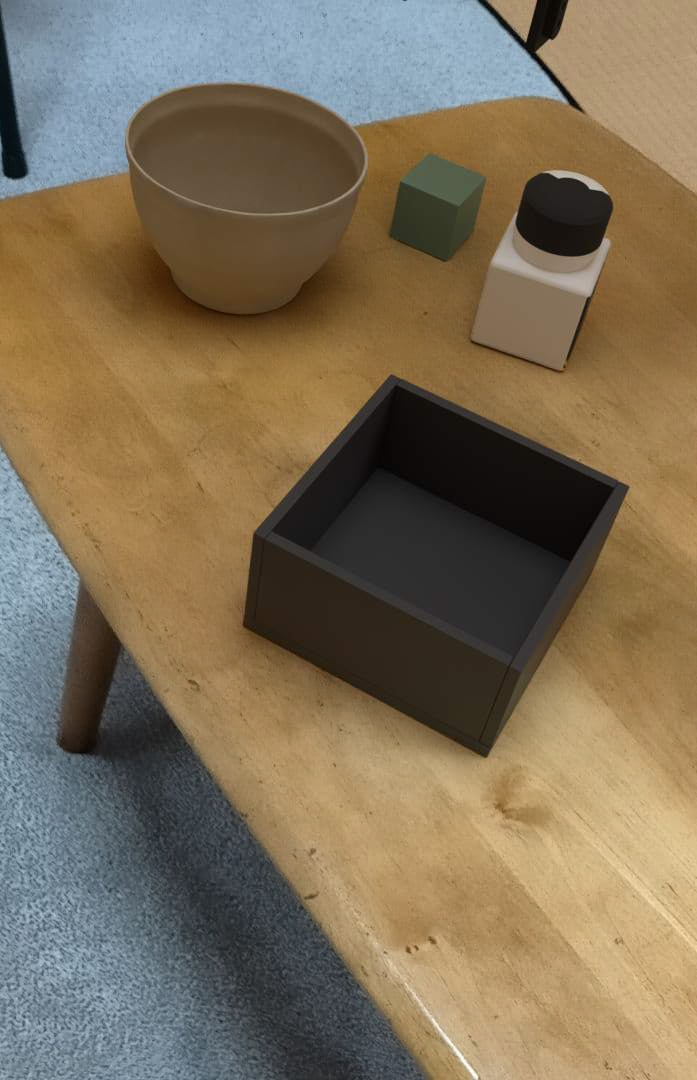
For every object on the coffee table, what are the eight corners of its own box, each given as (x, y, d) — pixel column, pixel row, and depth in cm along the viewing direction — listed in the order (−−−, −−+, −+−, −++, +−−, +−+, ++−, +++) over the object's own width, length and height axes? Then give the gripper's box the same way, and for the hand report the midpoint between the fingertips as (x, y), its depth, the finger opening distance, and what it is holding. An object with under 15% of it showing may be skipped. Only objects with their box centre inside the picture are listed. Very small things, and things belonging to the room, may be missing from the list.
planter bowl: (364, 348, 87) (388, 217, 79) (130, 348, 84) (130, 211, 75) (331, 212, 97) (349, 83, 89) (121, 208, 94) (120, 74, 86)
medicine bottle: (563, 374, 88) (612, 232, 79) (468, 342, 89) (506, 198, 80) (585, 318, 92) (634, 178, 83) (494, 287, 93) (533, 146, 84)
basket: (590, 575, 76) (630, 485, 70) (486, 758, 66) (521, 672, 60) (371, 467, 79) (391, 373, 73) (242, 626, 70) (252, 532, 64)
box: (473, 231, 98) (487, 176, 94) (446, 261, 95) (459, 206, 91) (418, 207, 99) (429, 152, 95) (389, 236, 96) (399, 180, 92)
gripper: (697, -236, 72) (609, 44, 84) (434, -324, 76) (388, -43, 88) (654, -205, 67) (568, 87, 80) (376, -300, 71) (336, -7, 84)
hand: (473, 18), depth 84 cm, fingers open, 9 cm apart
